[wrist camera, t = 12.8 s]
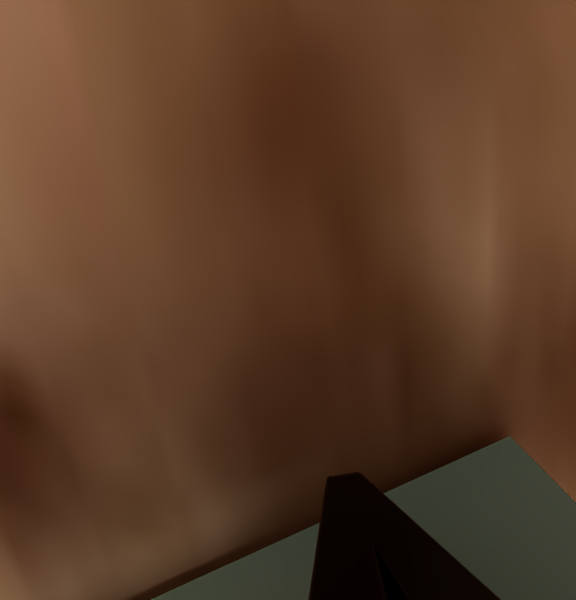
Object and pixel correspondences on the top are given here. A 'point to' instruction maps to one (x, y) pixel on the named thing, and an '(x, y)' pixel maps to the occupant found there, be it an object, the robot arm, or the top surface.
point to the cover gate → (442, 534)
